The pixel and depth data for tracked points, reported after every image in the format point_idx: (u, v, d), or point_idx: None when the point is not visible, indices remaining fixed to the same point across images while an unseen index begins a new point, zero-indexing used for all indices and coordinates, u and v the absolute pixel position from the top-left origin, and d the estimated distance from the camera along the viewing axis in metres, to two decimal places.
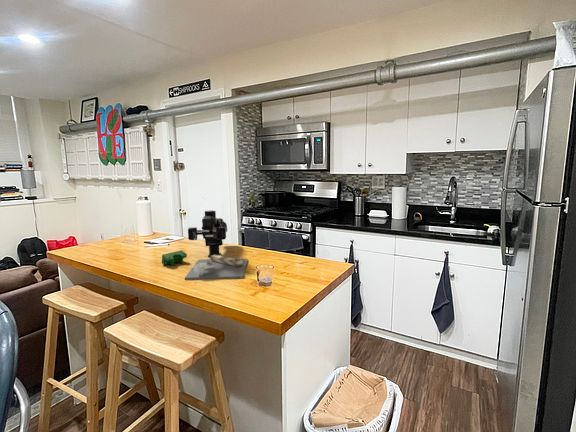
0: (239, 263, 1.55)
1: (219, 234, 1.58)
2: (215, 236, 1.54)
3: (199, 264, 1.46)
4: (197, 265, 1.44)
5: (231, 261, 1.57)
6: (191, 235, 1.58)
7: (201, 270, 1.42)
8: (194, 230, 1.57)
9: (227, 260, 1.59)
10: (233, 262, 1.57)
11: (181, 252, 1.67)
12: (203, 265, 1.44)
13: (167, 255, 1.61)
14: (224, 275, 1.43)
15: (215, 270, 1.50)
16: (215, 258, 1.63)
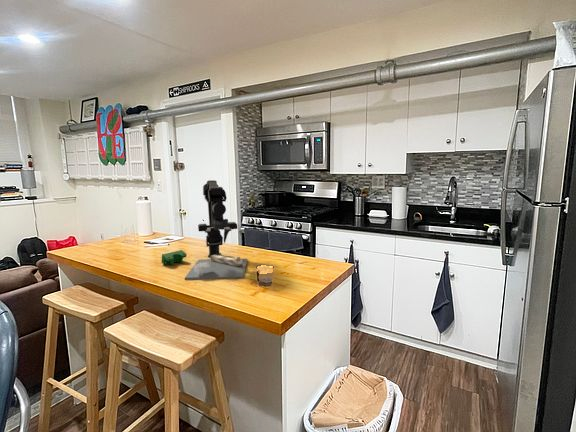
0: (239, 263, 1.55)
1: None
2: (225, 239, 1.59)
3: (199, 264, 1.46)
4: (197, 265, 1.44)
5: (231, 261, 1.57)
6: None
7: (201, 270, 1.42)
8: (209, 233, 1.54)
9: (227, 260, 1.59)
10: (233, 262, 1.57)
11: (181, 252, 1.68)
12: (203, 265, 1.44)
13: (167, 255, 1.62)
14: (224, 275, 1.43)
15: (215, 270, 1.50)
16: (215, 258, 1.63)
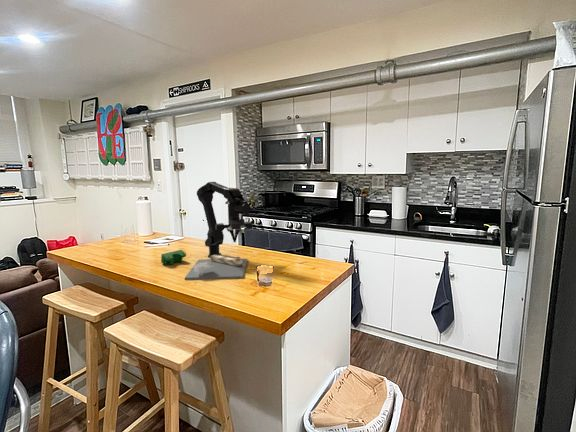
0: (239, 263, 1.55)
1: None
2: None
3: (199, 264, 1.46)
4: (197, 265, 1.44)
5: (231, 261, 1.57)
6: None
7: (201, 270, 1.42)
8: (232, 231, 1.62)
9: (227, 260, 1.59)
10: (233, 262, 1.57)
11: (181, 251, 1.68)
12: (203, 265, 1.44)
13: (166, 254, 1.62)
14: (224, 275, 1.43)
15: (215, 270, 1.50)
16: (215, 258, 1.63)
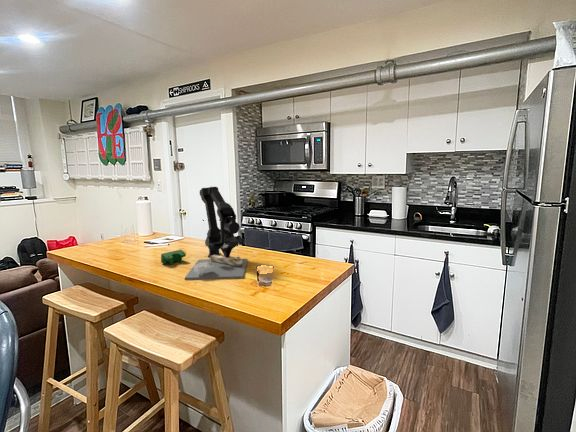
0: (239, 263, 1.55)
1: None
2: None
3: (199, 264, 1.46)
4: (197, 265, 1.44)
5: (231, 261, 1.57)
6: None
7: (201, 270, 1.42)
8: (227, 249, 1.61)
9: (227, 260, 1.59)
10: (233, 262, 1.57)
11: (181, 251, 1.69)
12: (203, 265, 1.44)
13: (166, 254, 1.63)
14: (224, 275, 1.43)
15: (215, 270, 1.50)
16: (215, 258, 1.63)
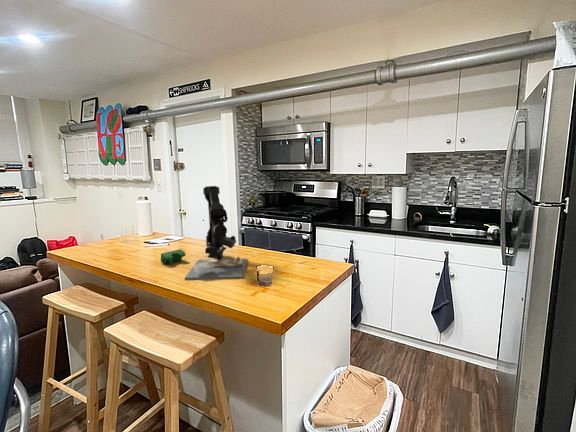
0: (241, 263, 1.56)
1: None
2: None
3: (199, 264, 1.46)
4: (197, 265, 1.44)
5: (231, 262, 1.55)
6: None
7: (201, 270, 1.42)
8: (222, 251, 1.57)
9: (225, 262, 1.55)
10: (234, 263, 1.55)
11: (180, 251, 1.69)
12: (203, 265, 1.44)
13: (166, 254, 1.63)
14: (224, 275, 1.43)
15: (215, 270, 1.50)
16: None
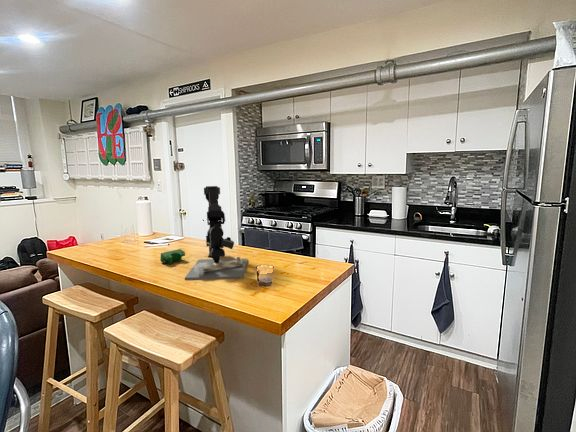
0: (242, 262, 1.57)
1: None
2: None
3: (199, 264, 1.46)
4: (197, 265, 1.44)
5: (233, 263, 1.54)
6: None
7: (201, 270, 1.42)
8: None
9: (228, 264, 1.53)
10: (235, 263, 1.55)
11: (180, 250, 1.70)
12: (203, 265, 1.44)
13: (166, 253, 1.64)
14: (224, 275, 1.43)
15: (215, 270, 1.50)
16: None
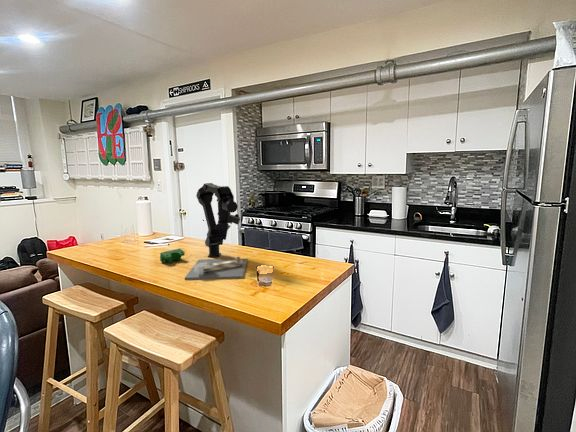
0: (242, 262, 1.57)
1: None
2: None
3: (199, 264, 1.46)
4: (197, 265, 1.44)
5: (233, 263, 1.54)
6: None
7: (201, 270, 1.42)
8: None
9: (228, 264, 1.53)
10: (235, 263, 1.55)
11: (179, 250, 1.71)
12: (203, 265, 1.44)
13: (165, 253, 1.65)
14: (224, 275, 1.43)
15: (215, 270, 1.50)
16: None
